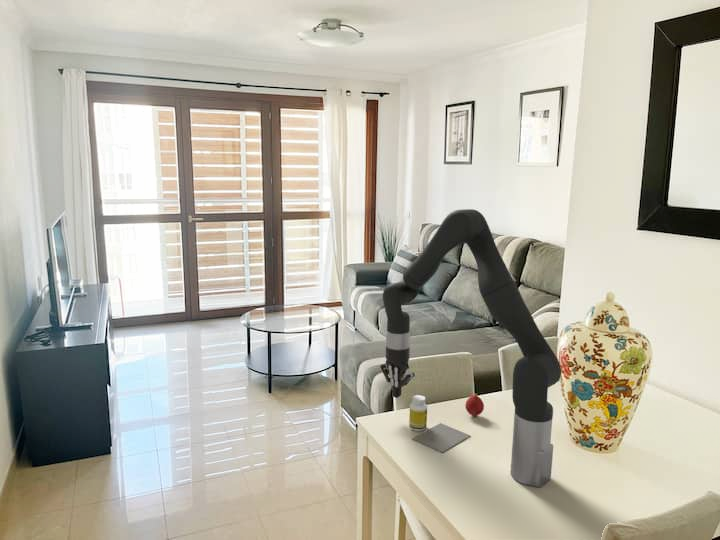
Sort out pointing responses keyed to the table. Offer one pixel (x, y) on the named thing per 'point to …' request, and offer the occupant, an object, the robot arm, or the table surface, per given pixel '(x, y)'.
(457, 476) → the table surface
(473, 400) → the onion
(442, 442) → the mat
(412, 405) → the supplement bottle
